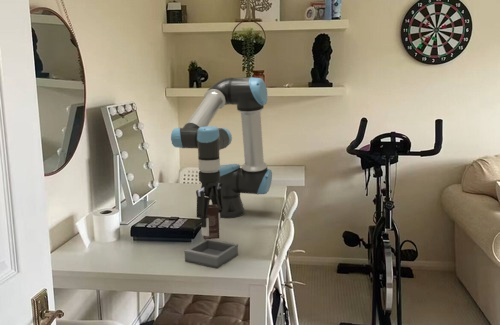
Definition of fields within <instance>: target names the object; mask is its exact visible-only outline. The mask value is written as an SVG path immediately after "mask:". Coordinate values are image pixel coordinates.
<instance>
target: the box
mask: <svg viewBox="0 0 500 325" xmlns="http://www.w3.org/2000/svg"><path fill="white" fill-rule="evenodd" d="M207 218H209V236H204V235H202V237H203V240H205V239H213V240H218V239H220V230H219V211H218V204H212V203H211V204H209V208H208V214H207Z"/></svg>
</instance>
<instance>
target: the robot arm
mask: <svg viewBox="0 0 500 325" xmlns="http://www.w3.org/2000/svg"><path fill="white" fill-rule="evenodd" d="M267 102H268V89H267V85H266V82H265V80H263V78H260V77H253V76H252V77H250V76H249V77H247V76H246V77H245V76H244V77H224V78H223V79H221V80H218V81H216V82H214V84H212V86H210V87H209V88H208V89H207V90H206V92H205V93H204V97H203V100H202V101H201V103H200V104H199V105H198V106H197V108H196V109H195V110H194V112H193V113H192V115H191V116H190V117H189V119H188V120H187V121H186V123H185V124H184V125H183V127H176V128H173V130H171V135H170V141H171V144H172V146H173V147H174V148H179V149H196V150H197V153H198V155H197V157H198V158H197V159H198V170H199V171H198V181H199V182H200V183H201V187H200V189H197V190H196V191H195V193H196V218H198V219H200V227H201V236H203V235H204V236H209V218H207V214H208V208H209V205H210V203H211V205H212V204H218V211H219V231H220V230H221V218H222V219H223V218H230V219H231V218H237V217H240V216H243V215H244V214H245V206H244V204H243V201H242V198H241V194H247V195H250V194H251V195H257V196H258V195H266V194H267V193H268V192H269V190H270V188H271V185H272V180H273V172H272V169H268V164H267V163H266V162H265V161H264V146H263V132H262V130H263V129H262V116H261V114H262V113H261V112H262V111H263V110H264V106H265V105H267ZM227 105H228V106H229V105H234V106H236V110H237V111H238V112H239V113H240V119H241V131H242V144H243V154H244V156H243V157H244V164H242V166H241V165H240V164H237V163H232V164H224V165H220V164H221V162H220V160H221V158H220V151H222V150H224V149H226V148H227V147H228V146H229V145H230V144H232V140H233V137H232V133H231V132H230V130H229V129H227V128H226V127H217V126H210V123H211V122H212V120H213V119H214V117H215V116H216V114H217V113H218V111H219V110H220V109H223V108H224V107H225V106H227ZM210 201H211V202H210Z"/></svg>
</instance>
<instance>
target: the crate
mask: <svg viewBox="0 0 500 325" xmlns="http://www.w3.org/2000/svg"><path fill="white" fill-rule="evenodd" d="M183 251H184V262H186V263H189V264H196V265H199V266H205V267H210V268H214V269H219V268H221V267H222V266H223V265H226V264H227V263H228V262H230V261H231V260H233V259H235V258H236V257H237V256H239V244H238V243H233V242H228V241H221V240H218V239H203V240H201V242H198V243H197V244H194V245H193V246H191V247H189V248H187V249H185V250H183Z"/></svg>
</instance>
